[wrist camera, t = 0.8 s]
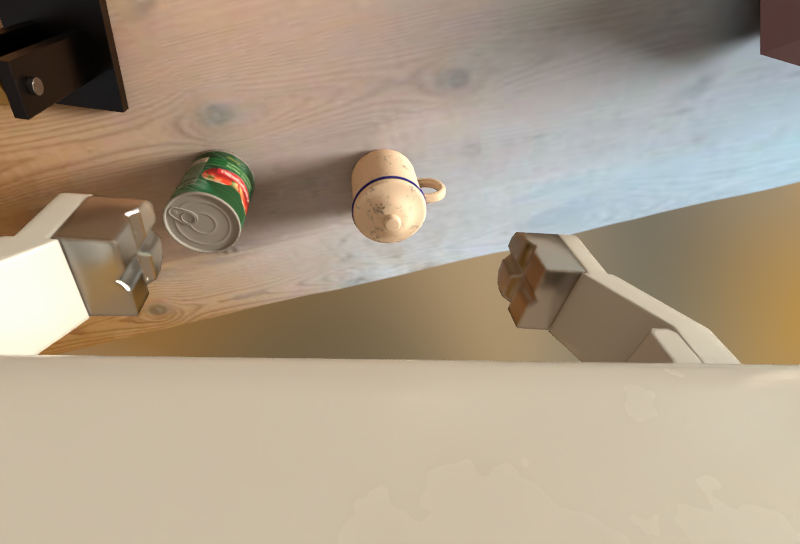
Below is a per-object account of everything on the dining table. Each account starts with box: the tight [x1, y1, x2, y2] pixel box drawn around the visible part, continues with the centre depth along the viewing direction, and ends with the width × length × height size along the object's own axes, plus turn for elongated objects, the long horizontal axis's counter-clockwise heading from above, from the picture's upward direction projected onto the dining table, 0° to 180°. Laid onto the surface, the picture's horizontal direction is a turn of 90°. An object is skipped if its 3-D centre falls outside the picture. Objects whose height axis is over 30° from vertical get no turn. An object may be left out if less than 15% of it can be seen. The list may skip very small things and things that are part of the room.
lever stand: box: [0, 0, 128, 120], centre depth 37 cm, size 11×9×14 cm
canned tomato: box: [163, 150, 255, 253], centre depth 49 cm, size 8×8×11 cm
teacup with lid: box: [351, 149, 445, 243], centre depth 52 cm, size 12×9×12 cm
